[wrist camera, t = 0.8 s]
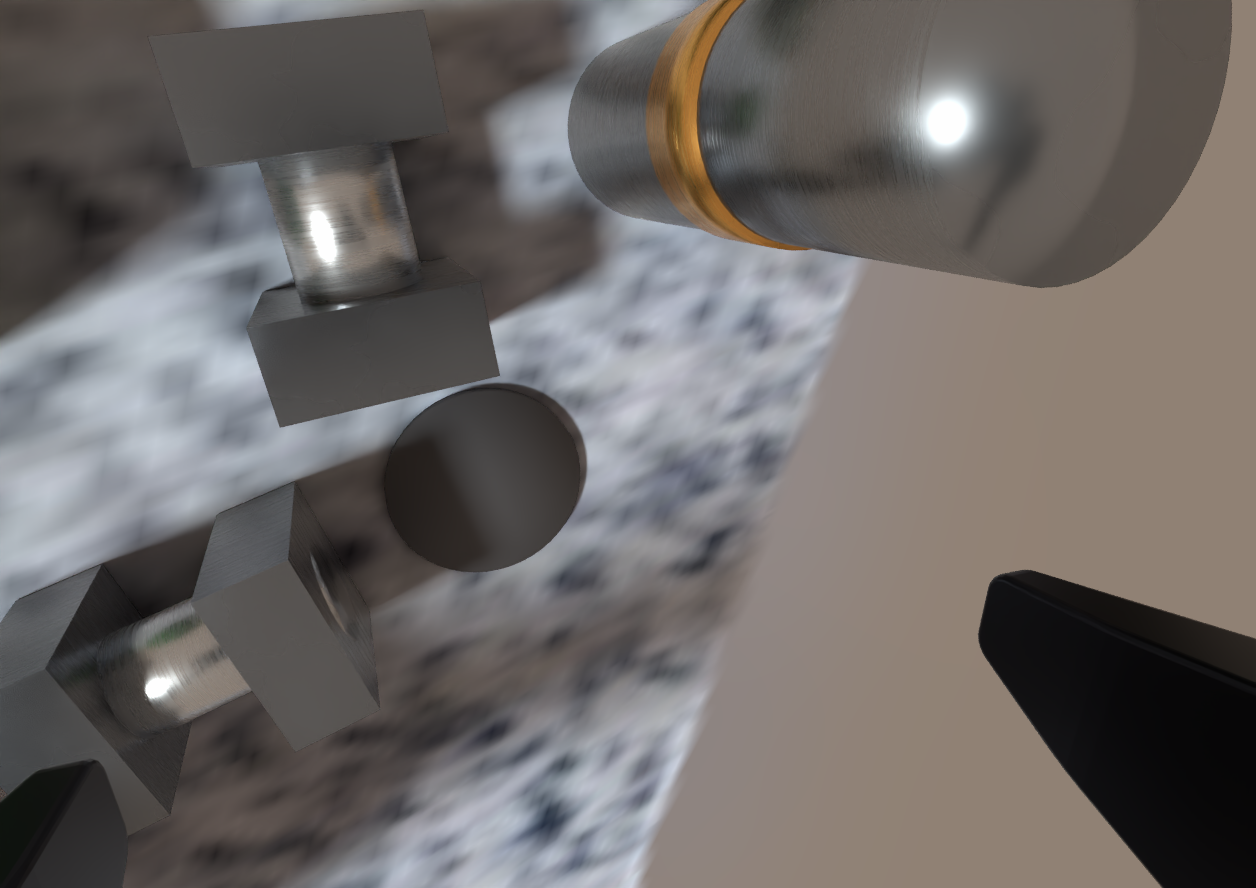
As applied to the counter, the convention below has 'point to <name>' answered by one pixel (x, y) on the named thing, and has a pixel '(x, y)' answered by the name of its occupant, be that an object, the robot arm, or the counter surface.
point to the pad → (482, 480)
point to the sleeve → (910, 127)
